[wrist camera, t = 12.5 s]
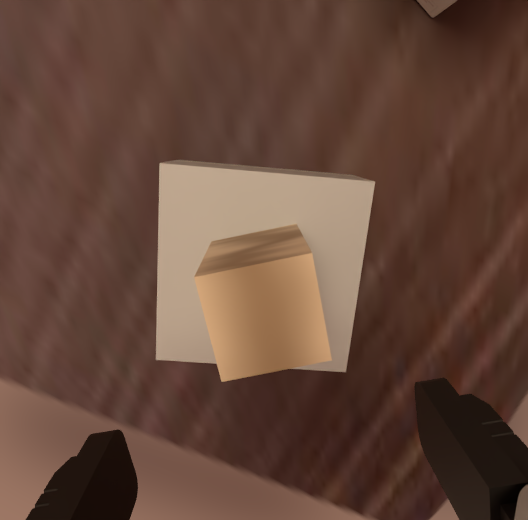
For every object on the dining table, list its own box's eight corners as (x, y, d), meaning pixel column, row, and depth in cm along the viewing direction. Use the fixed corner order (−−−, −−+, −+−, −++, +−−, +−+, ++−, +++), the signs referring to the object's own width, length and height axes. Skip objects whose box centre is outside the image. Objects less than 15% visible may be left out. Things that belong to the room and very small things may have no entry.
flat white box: (351, 174, 29) (374, 181, 23) (329, 331, 32) (345, 372, 27) (179, 159, 29) (159, 163, 23) (174, 320, 32) (155, 359, 26)
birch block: (296, 223, 24) (312, 252, 17) (311, 303, 25) (331, 360, 18) (211, 241, 24) (193, 277, 17) (230, 319, 25) (221, 382, 19)
